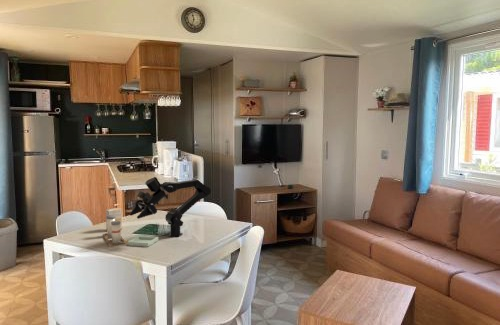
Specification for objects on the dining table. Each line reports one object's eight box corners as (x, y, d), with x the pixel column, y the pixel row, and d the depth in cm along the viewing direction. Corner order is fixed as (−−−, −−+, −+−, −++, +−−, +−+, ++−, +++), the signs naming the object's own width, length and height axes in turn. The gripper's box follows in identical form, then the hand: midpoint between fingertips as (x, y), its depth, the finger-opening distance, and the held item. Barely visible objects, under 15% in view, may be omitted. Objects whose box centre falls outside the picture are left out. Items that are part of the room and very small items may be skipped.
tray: (138, 239, 217) (138, 235, 217) (158, 240, 215) (158, 237, 215) (127, 245, 206) (127, 241, 206) (148, 247, 203) (148, 243, 203)
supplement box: (118, 228, 242) (118, 207, 241) (122, 229, 239) (121, 208, 237) (106, 230, 236) (105, 209, 235) (109, 231, 233) (108, 210, 232)
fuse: (110, 234, 226) (109, 214, 225) (117, 235, 225) (117, 215, 224) (105, 237, 222) (104, 216, 221) (112, 237, 221) (112, 217, 220)
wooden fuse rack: (102, 235, 225) (102, 233, 225) (121, 233, 230) (121, 231, 230) (109, 246, 204) (109, 244, 204) (129, 243, 209) (129, 241, 209)
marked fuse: (114, 241, 212) (114, 220, 211) (122, 242, 211) (122, 221, 210) (110, 244, 208) (109, 222, 207) (117, 244, 207) (117, 223, 206)
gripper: (140, 185, 219) (118, 202, 211) (155, 189, 205) (132, 208, 197) (150, 199, 224) (129, 217, 216) (166, 204, 210) (144, 223, 202)
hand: (133, 216), depth 208 cm, fingers open, 9 cm apart
